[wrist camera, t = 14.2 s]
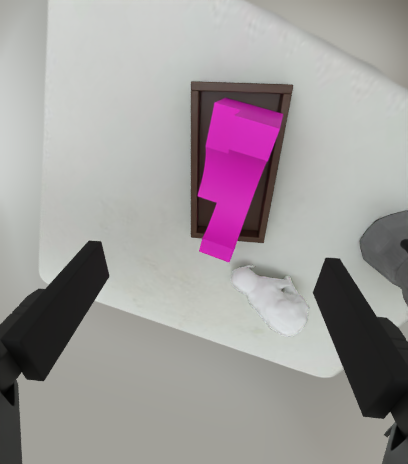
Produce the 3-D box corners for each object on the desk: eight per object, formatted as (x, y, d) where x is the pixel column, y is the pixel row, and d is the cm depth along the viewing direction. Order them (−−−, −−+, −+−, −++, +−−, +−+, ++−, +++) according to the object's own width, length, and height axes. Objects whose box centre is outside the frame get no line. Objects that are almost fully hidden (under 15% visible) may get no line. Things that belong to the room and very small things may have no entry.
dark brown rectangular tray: (194, 81, 26) (190, 81, 24) (288, 84, 26) (293, 84, 23) (193, 228, 36) (190, 237, 34) (261, 233, 35) (263, 243, 33)
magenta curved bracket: (225, 97, 25) (204, 106, 20) (283, 113, 25) (279, 128, 19) (199, 213, 34) (179, 244, 29) (240, 228, 34) (229, 262, 28)
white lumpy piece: (288, 350, 35) (217, 311, 34) (282, 306, 42) (223, 273, 41) (319, 327, 32) (242, 283, 31) (307, 284, 39) (244, 247, 38)
